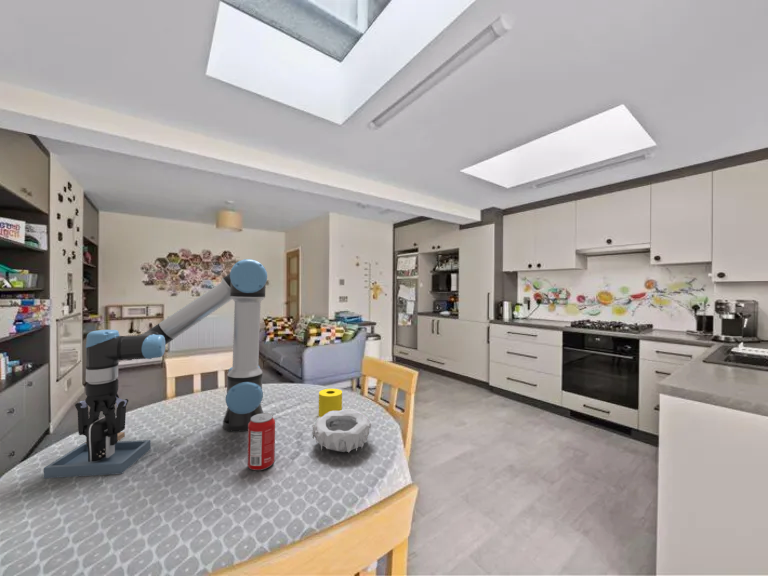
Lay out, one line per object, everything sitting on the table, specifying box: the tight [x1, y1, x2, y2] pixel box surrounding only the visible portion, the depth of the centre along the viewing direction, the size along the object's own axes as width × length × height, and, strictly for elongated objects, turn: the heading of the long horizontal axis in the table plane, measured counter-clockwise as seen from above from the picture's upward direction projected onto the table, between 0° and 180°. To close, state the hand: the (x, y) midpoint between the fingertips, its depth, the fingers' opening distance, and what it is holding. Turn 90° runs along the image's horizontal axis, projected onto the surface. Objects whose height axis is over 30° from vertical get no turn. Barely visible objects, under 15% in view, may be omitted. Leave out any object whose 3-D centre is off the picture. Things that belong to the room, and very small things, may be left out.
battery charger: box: [87, 416, 109, 462], centre depth 97 cm, size 7×4×11 cm, turn 8°
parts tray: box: [43, 439, 152, 479], centre depth 97 cm, size 20×14×3 cm
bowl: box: [311, 408, 372, 454], centre depth 109 cm, size 21×20×10 cm
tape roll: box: [318, 388, 343, 417], centre depth 136 cm, size 10×10×9 cm
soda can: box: [247, 412, 276, 471], centre depth 97 cm, size 8×8×15 cm
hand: (102, 455), depth 97 cm, fingers open, 4 cm apart
